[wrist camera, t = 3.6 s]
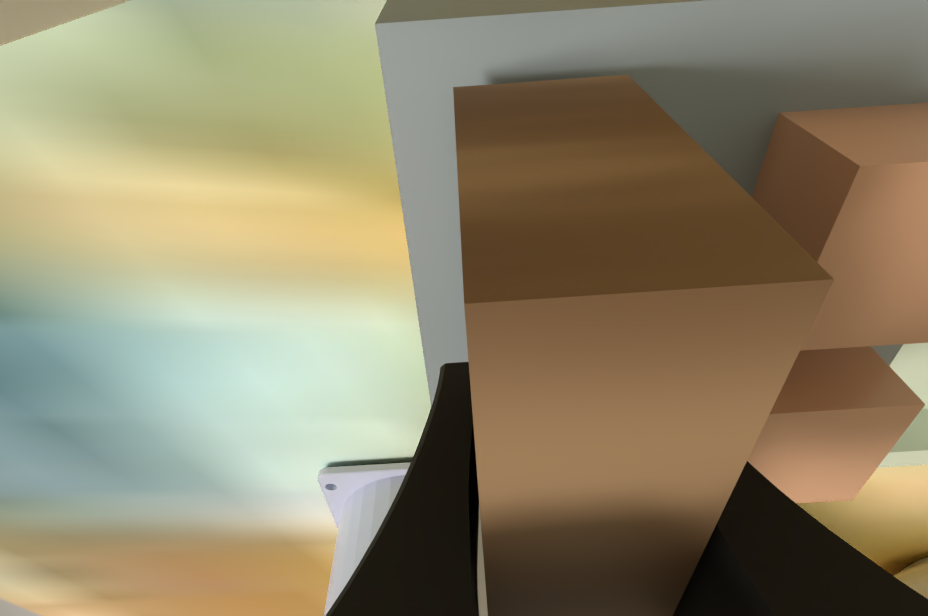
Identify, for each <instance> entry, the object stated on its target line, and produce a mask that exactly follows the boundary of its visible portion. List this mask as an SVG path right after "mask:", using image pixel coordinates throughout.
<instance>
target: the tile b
mask: <svg viewBox="0 0 928 616" xmlns="http://www.w3.org/2000/svg"><path fill="white" fill-rule="evenodd" d="M752 198H753V199H754V200H755V201H756V202H757V203H758V204H759V205H760V206H761V207H762V208H763V209H764V210H765V211H766V212H767V213H768V214H769V215H770V216H771V217H772V218H773V219H774V220H775V221H776V222H777V223H778V224H779V225H780V226H781V227H782V228H783V229H784V230H785V231H786V232H787V233H788V234H789V235H790V236H791V237H792V238H793V239H794V240H795V241H796V242H797V243H798V244H799V245H800V246H801V247H802V248H803V249H804V250H805V251H806V252H807V253H808V254H809V255H810V256H811V257H812V258H813V259H814V260H815V261H816V262H817V263H818V264H819V265H820V266H821V267H822V268H823V269H824V270H825V271H826V272H827V273H828V274H829V275H830V276H831V277H832V278H833V279H834V281H833V283H832V285H831V287H830V289H829V291H828V293H827V295H826V297H825V300H824V302H823V304H822V306H821V308H820V310H819V312H818V314H817V316H816V318H815V320H814V322H813V325H812V327H811V329H810V331H809V333H808V335H807V337H806V339H805V341H804V343H803V345H802V347H801V350H800V351H802V350H818V349H834V348H850V347H866V346H882V345H898V344H914V343H928V102H927V103H912V104H898V105H883V106H868V107H854V108H839V109H824V110H810V111H795V112H780V113H779V114H778V117H777V120H776V123H775V127H774V130H773V133H772V136H771V139H770V142H769V145H768V148H767V151H766V155H765V158H764V161H763V164H762V167H761V170H760V173H759V176H758V179H757V183H756V186H755V189H754V192H753V195H752Z"/></svg>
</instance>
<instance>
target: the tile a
mask: <svg viewBox="0 0 928 616" xmlns="http://www.w3.org/2000/svg"><path fill="white" fill-rule="evenodd" d="M924 406H925V404H924V402H923V401H922V400H921V399H920V398H919V397H918V396H917V395H916V394H915V393H914V392H913V391H912V390H911V389H910V388H909V386H908V385H907V384H906V383H905V382H904V381H903V380H902V379H901V378H900V377H899V376H898V375H897V374H896V373H895V372H894V371H893V369H892V368H891V367H890V366H889V365H888V364H887V363H886V362H885V361H884V360H883V359H882V358H881V357H880V356H879V355H878V353H877V352H876V351H875V350H874V349H873V348H872V347H871V346H866V347H850V348H834V349H818V350H802V351H800V352H799V354H798V356H797V358H796V360H795V362H794V364H793V366H792V368H791V370H790V372H789V374H788V377H787V379H786V381H785V383H784V385H783V387H782V389H781V391H780V393H779V395H778V397H777V399H776V402H775V404H774V406H773V408H772V410H771V412H770V414H769V416H768V418H767V420H766V422H765V424H764V427H763V429H762V431H761V433H760V435H759V437H758V439H757V441H756V443H755V445H754V447H753V449H752V451H751V454H750V456H749V458H748V460H747V461H748V462H749V463H750V464H751V465H752V466H753V467H754V468H756V469H757V470H758V471H759V472H760V473H761V474H762V475H763V476H764V477H766V478H767V479H768V480H769V481H770V482H771V483H772V484H774V485H775V486H776V487H777V488H778V489H779V490H780V491H782V492H783V493H784V494H785V495H786V496H788V497H789V498H790V499H791V500H792V501H794V502H795V503H811V502H828V501H845V500H853V499H854V497H855V496H856V495H857V494H858V492H859V491H860V490H861V488H862V487H863V486H864V484H865V483H866V482H867V480H868V479H869V478H870V477H871V475H872V474H873V473H874V471H875V470H876V469H877V467H878V466H879V465H880V463H881V462H882V461H883V459H884V458H885V457H886V456H887V454H888V453H889V452H890V450H891V449H892V448H893V446H894V445H895V444H896V442H897V441H898V440H899V439H900V437H901V436H902V435H903V433H904V432H905V431H906V429H907V428H908V427H909V425H910V424H911V423H912V421H913V420H914V419H915V418H916V416H917V415H918V414H919V412H920V411H921V410H922V408H923V407H924Z"/></svg>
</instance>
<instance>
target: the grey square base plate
mask: <svg viewBox="0 0 928 616" xmlns="http://www.w3.org/2000/svg"><path fill="white" fill-rule="evenodd" d="M375 27H376V34H377V41H378V47H379V54H380V61H381V68H382V75H383V81H384V88H385V95H386V102H387V108H388V115H389V122H390V129H391V136H392V142H393V149H394V156H395V163H396V170H397V176H398V183H399V190H400V197H401V204H402V210H403V217H404V224H405V231H406V238H407V244H408V251H409V258H410V265H411V271H412V278H413V285H414V292H415V299H416V305H417V312H418V319H419V326H420V333H421V339H422V346H423V353H424V360H425V367H426V373H427V380H428V387H429V394H430V401H431V407H432V404H433V400H434V397H435V393H436V389H437V385H438V380H439V374H440V367H441V366H443V365H444V364H445V363H457V362H469V361H468V348H467V335H466V322H465V309H464V291H463V272H462V252H461V232H460V213H459V193H458V174H457V154H456V134H455V115H454V95H453V87H462V86H476V85H490V84H504V83H518V82H532V81H546V80H560V79H573V78H587V77H601V76H615V75H629V76H630V77H631V78H632V79H633V80H634V81H635V82H636V83H637V84H638V85H639V86H640V87H641V88H642V89H643V90H644V91H645V92H646V93H647V94H648V95H649V96H650V97H651V98H652V99H653V100H654V101H655V102H656V103H657V104H658V105H659V106H660V107H661V108H662V109H663V110H664V111H665V112H666V113H667V114H668V115H669V116H670V117H671V118H672V119H673V120H674V121H675V122H676V123H677V124H678V125H679V126H680V127H681V128H682V129H683V130H684V131H685V132H686V133H687V134H688V135H689V136H690V137H691V138H692V139H693V140H694V141H695V142H696V143H697V144H698V145H699V146H700V147H701V148H702V149H703V150H704V151H705V152H706V153H707V154H708V155H709V156H710V157H711V158H712V159H713V160H714V161H716V162H717V163H718V164H719V165H720V166H721V167H722V168H723V169H724V170H725V171H726V172H727V173H728V174H729V175H730V176H731V177H732V178H733V179H734V180H735V181H736V182H737V183H738V184H739V185H740V186H741V187H742V188H743V189H744V190H745V191H746V192H747V193H748V194H749V195H750V196H751V197H752V195H753V192H754V189H755V186H756V183H757V179H758V176H759V173H760V170H761V167H762V164H763V161H764V158H765V155H766V151H767V148H768V145H769V142H770V139H771V136H772V133H773V130H774V127H775V123H776V120H777V117H778V114H779V113H780V112H795V111H810V110H824V109H839V108H854V107H868V106H883V105H898V104H912V103H927V102H928V0H387V1H386V3H385V5H384V7H383V9H382V11H381V13H380V15H379V17H378V19H377V21H376V23H375ZM902 346H903V344H898V345H882V346H871V347H872V348H873V349H874V350H875V351H876V352H877V353H878V355H879V356H880V357H881V358H882V359H883V360H884V361H885V362H886V363H887V364H888V365H889V366H890V364H891V363H892V361H893V360H894V358H895V357H896V355H897V353H898V352H899V350H900V349H901V347H902Z"/></svg>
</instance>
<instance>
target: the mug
mask: <svg viewBox="0 0 928 616" xmlns="http://www.w3.org/2000/svg"><path fill="white" fill-rule="evenodd" d="M127 1H130V0H0V46H1V45H4V44H7V43H9V42H12V41H15V40H18V39H21V38H24V37H27V36H30V35H32V34H35V33H38V32H41V31H44V30H47V29H50V28H52V27H55V26H58V25H61V24H64V23H67V22H70V21H73V20H75V19H78V18H81V17H84V16H87V15H90V14H93V13H95V12H98V11H101V10H104V9H107V8H110V7H113V6H116V5H118V4H121V3H124V2H127Z"/></svg>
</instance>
